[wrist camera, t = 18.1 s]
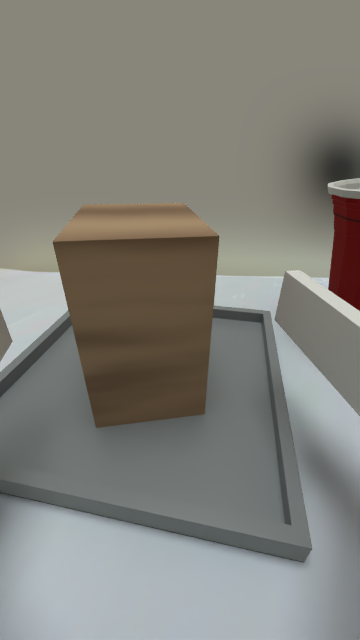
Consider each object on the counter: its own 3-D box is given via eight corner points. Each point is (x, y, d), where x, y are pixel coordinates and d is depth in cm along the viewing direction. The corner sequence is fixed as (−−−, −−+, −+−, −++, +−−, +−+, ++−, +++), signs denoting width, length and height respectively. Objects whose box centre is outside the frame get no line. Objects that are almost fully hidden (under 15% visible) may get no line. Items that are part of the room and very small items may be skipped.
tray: (-82, 473, 13) (-95, 458, 12) (89, 304, 27) (87, 293, 27) (303, 561, 10) (312, 548, 10) (267, 322, 25) (269, 311, 24)
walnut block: (204, 414, 16) (219, 236, 10) (95, 428, 15) (52, 241, 10) (181, 335, 22) (183, 203, 17) (105, 341, 22) (83, 204, 16)
